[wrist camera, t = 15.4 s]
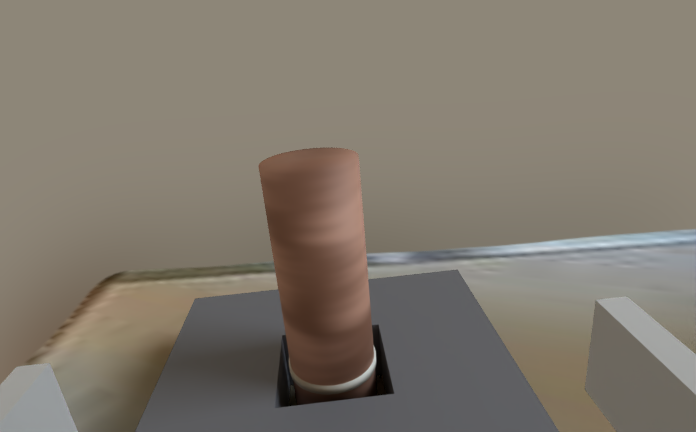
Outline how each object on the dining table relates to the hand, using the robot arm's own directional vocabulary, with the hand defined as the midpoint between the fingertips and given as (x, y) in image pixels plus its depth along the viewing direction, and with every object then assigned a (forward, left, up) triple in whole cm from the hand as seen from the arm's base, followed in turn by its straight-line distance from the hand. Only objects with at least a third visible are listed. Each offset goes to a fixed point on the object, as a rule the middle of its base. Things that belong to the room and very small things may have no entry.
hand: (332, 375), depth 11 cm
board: (0, -13, -14) cm, 19 cm away
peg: (0, -13, -14) cm, 19 cm away
